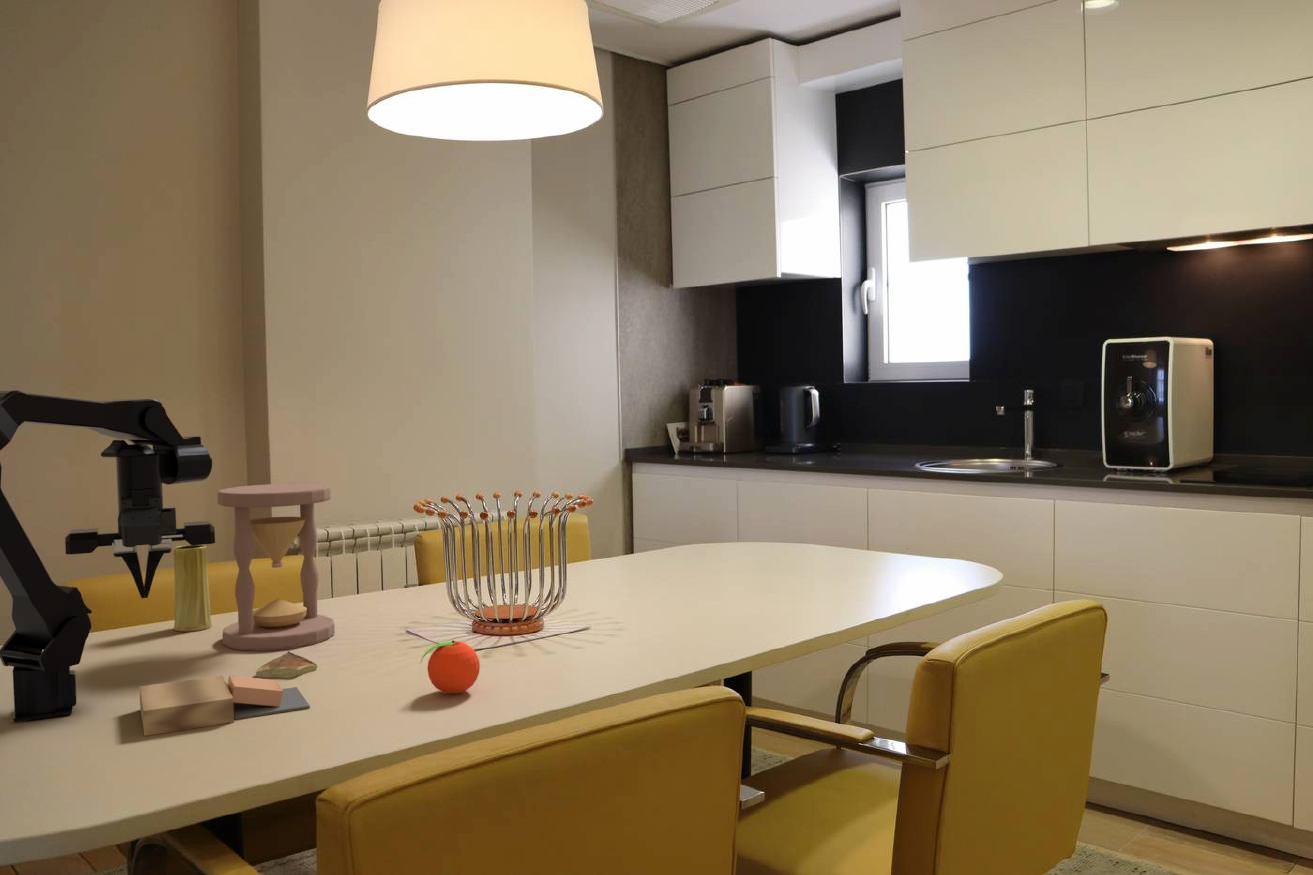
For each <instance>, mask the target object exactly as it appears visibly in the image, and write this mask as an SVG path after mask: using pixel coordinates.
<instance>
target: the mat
mask: <svg viewBox="0 0 1313 875" xmlns="http://www.w3.org/2000/svg"><path fill="white" fill-rule="evenodd" d="M282 690H283V695H282V699H281V704H280V707H277V706H266V705H256V704H245V703H235V702H233V707H234V720H241V719H246V718H247V719H248V718H254V717H261V716H268V715H273V714H279V713H287V712H294V711H299V710H306V709H310V708H311V705H310V703H309V702H308V701H307V699H306V698H305V696H304V695H303V694H302V692H301V691H300V690H299V688H298V687H297V686H294V687H288V688H282Z"/></svg>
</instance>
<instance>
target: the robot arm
mask: <svg viewBox="0 0 1313 875" xmlns="http://www.w3.org/2000/svg"><path fill="white" fill-rule="evenodd" d="M22 424H36V425H47V426H58V427H67V428H68V427H69V428H80V429H81V428H82V429H88V430H91V431H95V432H96V433H98V434H100V435H104V436H108V437H111V438H114V439H112V440H111V442H110V445H108V446H107V447H106V448H104V449H103V451H101V453H100V456H101V457H102V458H115V461H116V462H115V463H116V464H115V466H116V485H117V489H116V490H117V492H116V493H117V511H118V512H117V514H118V517H117V531H116V532H114V531H113V532H103V533H99V532H100V530H99V527H96V528H95V527H94V528H93V527H92V528H81V529H80V528H79V529H71V530H69V531H68V533H67V534H66V535H65V537H64V538H65V539H64V543H65V544H64V545H65V548H64V549H65V555H81V554H82V555H83V554H92V553H93V552H94V551H95V550H96V549H98V548H99V547H111V546H112V549H113V553H112V554H113V555H112V556H113V557H114V558H121V559H122V560H123V562H124V563H125V564H126V567H127V568H128V569H129V571H130V573H131V575H132V578H133V581H134V583H135V586H136V588H137V590H138V594H139V596H140V599H148V597H149V595H150V592H151V587H152V584H153V581H154V577H155V575H156V571H157V569H158V567H159V563H161V559H162V558H163V556H164V554H170V553H172V546H171V545H172V544H173V542H178V541H181V542H182V541H185V542H187V543H188V545H213V544H215V543H216V535H215V534H216V531H215V526H214V525H213V524H212V523H211V522H210V521H209V520H201V521H185V522H184V521H183V524H182V527H177V512H176V511H177V510H176V507H164V495H163V494H164V492H163V484H165V485H166V486H167V485H178V484H187V483H195V482H202V481H204V480H206V479H208V477H209V476H210V474H211V472H212V469H213V459H212V457H211V456H210V452H209V450H208V449H207V448H206V447H205V446H204V444H202V438H201V436H195V435H193V436H192V435H190V436H189V435H187V436H182V435H181V433H180V432H179V431H178V429H177V428H176V426H175V424H174V423H173V422H172V420H171V419H170V417H169V416H168V415H167V411H166V408H165V407H164V406H163V403H162V402H161V401H160V400H158V399H155V398H126V399H125V398H123V399H122V398H121V399H120V398H119V399H108V400H107V399H106V400H99V401H98V400H91V399H90V400H88V399H80V398H79V399H78V398H71V397H70V398H69V397H64V396H63V397H62V396H61V397H60V396H52V395H46V394H45V395H44V394H35V393H27V392H24V391H21V390H13V389H12V390H0V451H1V450H3V449H4V448H5V447H7V445H8V444H9V443H10V442H11V441H12V439H13V437H14V436H15V434H16V433H17V430H18V429H19V427H20V426H21V425H22ZM126 440H127V441H129V442H130V443H132V444H129V443H128V442H127V441H126ZM150 446H152V448H151V447H150ZM146 545H147V546H148V547H147V553H146V554H147V555H146V565H145V572H144V573H145V574H144V578H143V573H142V569H141V568H142V567H141V562H140V557H139V552H138V547H137V546H146ZM0 578H1V579H2V582H3V583H4V585H5V587H6V588H7V591H8V592H9V593H10V596H11V598H12V609H11V619H12V622H13V624H14V628H15V630H14V631H13V633H11V635H10V636H9V638H8V639H7V640H6V642H5V643H4V644H3V645H2V646H1V647H0V660H1V663H2V665H3V667H13V669H12V683H13V684H12V685H13V686H12V689H13V705H14V706H13V707H14V709H13V710H14V712H13V715H12V716H13V717H12V722H14V723H17V722H24V721H32V720H38V719H39V720H40V719H45V718H46V719H47V718H53V717H59V716H66V715H71V714H73V709H74V708H73V707H76V706H77V702H78V701H77V700H78V698H77V678H76V677H77V675H76V671H75V670H74V669H72V670H71V667H73V666H77V665H79V664H80V663H81V659H82V655H83V652H84V649H85V645H86V642H87V639H88V638H89V634H90V631H91V630H92V621H91V618H90V616H89V615H90V614H92V613H93V611H92V610H91V609H90V608H89V607H88V606H87V605H86V604H85V601H84V599H83V596H82V593H81V591H80V590H79V589H78V587H77V586H76V587H75V586H65V585H57V584H56V583H55V582H54V581H53V580H52V578H51V576H50V573H49V572H48V569H46V567H45V565H44V564H43V561H42V559H41V558H40V556H39V554H38V553H37V550H36V549H35V547H34V545H33V544H32V541H31V540H30V538H29V536H28V535H27V533H26V530H25V529H24V527H23V526H22V524H21V522H20V520H19V518H18V517H17V515H16V513H15V511H14V510H13V507H12V506H11V505H10V502H9V500H8V498H7V496H6V495H5V493H4V491H3V489H2V463H1V462H0Z"/></svg>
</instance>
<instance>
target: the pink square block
mask: <svg viewBox="0 0 1313 875" xmlns="http://www.w3.org/2000/svg"><path fill="white" fill-rule="evenodd" d="M226 684H227V686H228V688H229V690H230V692H231V695H232V697H233V702H235V703H245V704H256V705H266V706H277V707H280V704H281V699H282V695H283V690H282V689H283V688H282V687H281V685H280V684H279V682H278V680H277V679H267V678H266V679H265V678H261V677H249V676H248V677H247V676H241V675H240V676H239V675H232V674H231V675H228V679H227V682H226Z"/></svg>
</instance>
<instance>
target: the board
mask: <svg viewBox="0 0 1313 875" xmlns="http://www.w3.org/2000/svg"><path fill="white" fill-rule="evenodd" d="M139 707H140V716H141V722H142V728H143V735H144V737H146V736H151V735H159V734H165V733H172V732H177V731H184V730H190V729H197V728H204V727H209V726H216V725H223V724H230V723H234V722H235V718H234V707H233V697H232V695H231V692H230V690H229V688H228V686H227V682H226V680H225V678H224V676H223V675H217V676H209V677H201V678H193V679H186V680H179V681H178V680H177V681H171V682H164V683H155V684H150V685H143V686H142V685H141V686H139Z"/></svg>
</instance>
